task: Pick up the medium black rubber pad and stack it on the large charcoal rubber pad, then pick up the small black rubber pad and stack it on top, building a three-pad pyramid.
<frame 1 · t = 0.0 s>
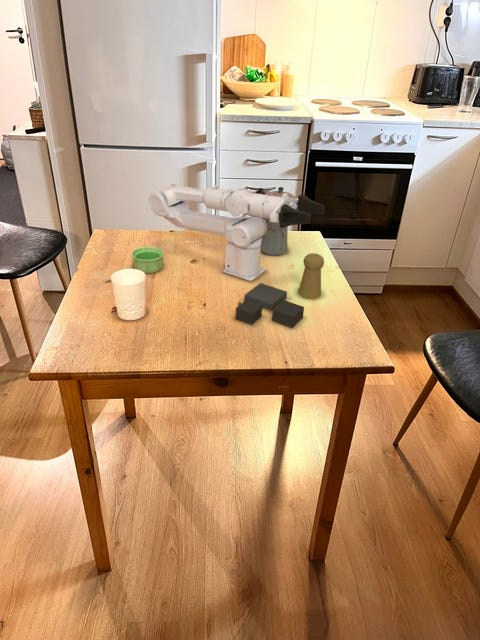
hand: (317, 214, 121), 22 cm above the table, tool horizontal, fingers open, 7 cm apart
white cup: (131, 313, 120), on the table
top pad: (248, 317, 120), on the table
ramekin: (148, 267, 141), on the table
middle pad: (287, 319, 121), on the table
base pad: (265, 299, 128), on the table
olive game pawn: (309, 293, 132), on the table
moka pot: (271, 250, 155), on the table
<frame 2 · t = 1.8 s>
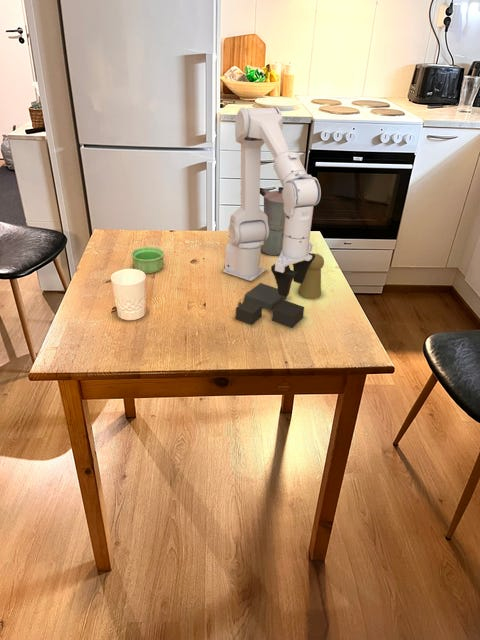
hand: (290, 288, 116), 9 cm above the table, tool pointing down, fingers open, 7 cm apart
nothing on the table moved.
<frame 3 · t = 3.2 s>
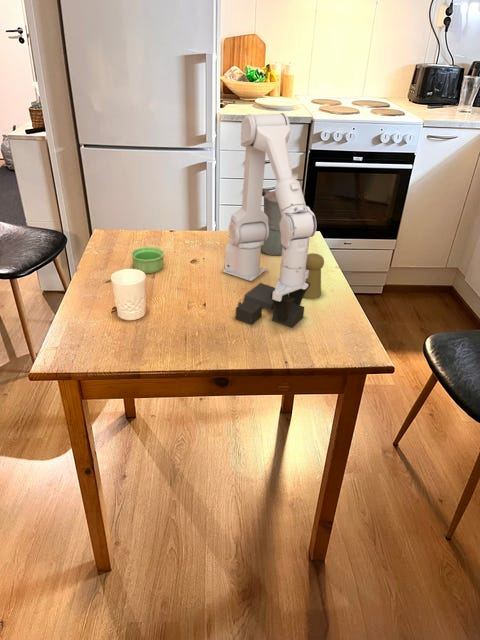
hand: (287, 314, 120), 1 cm above the table, tool pointing down, fingers closed on middle pad, 5 cm apart
middle pad: (287, 319, 121), on the table, touching gripper
everything else where it was.
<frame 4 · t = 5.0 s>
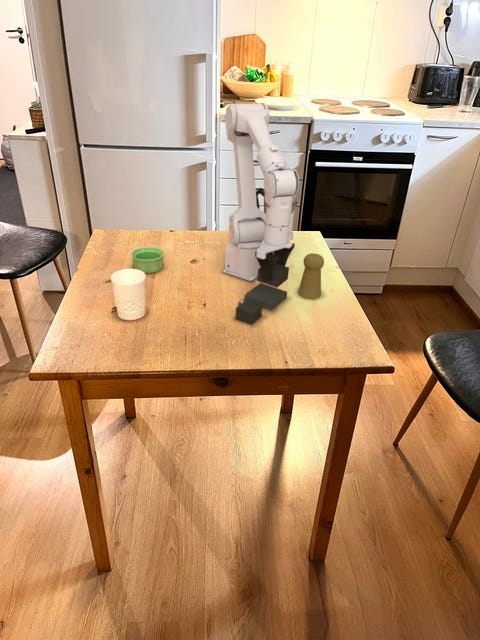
hand: (272, 275, 122), 8 cm above the table, tool pointing down, fingers closed on middle pad, 5 cm apart
middle pad: (272, 280, 123), point 7 cm above the table, touching gripper
everything else where it was.
when the fingers open (3 cm above the table, at t = 7.0 s): middle pad stays where it is, resting on base pad.
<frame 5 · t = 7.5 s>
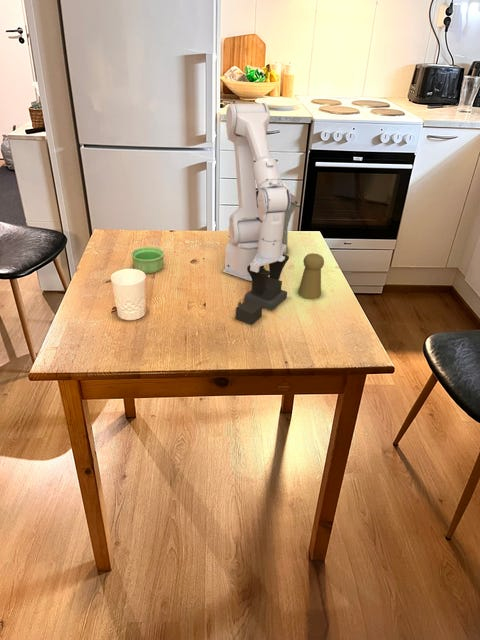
hand: (266, 286, 126), 4 cm above the table, tool pointing down, fingers open, 7 cm apart
middle pad: (266, 293, 127), point 2 cm above the table, touching base pad
base pad: (265, 299, 128), on the table, touching middle pad
everything else where it was.
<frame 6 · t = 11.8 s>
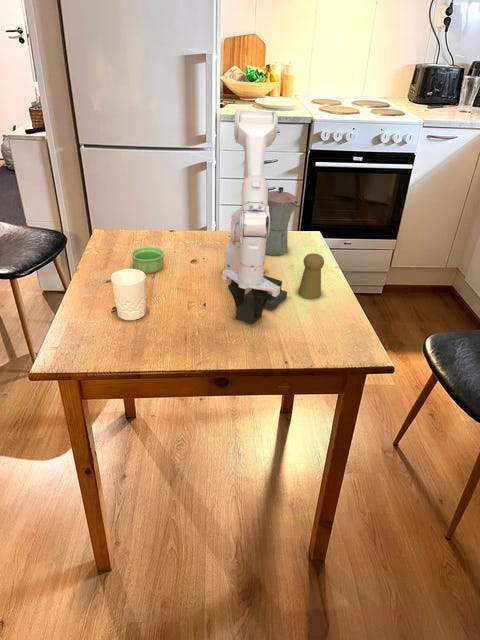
hand: (248, 312, 120), 1 cm above the table, tool pointing down, fingers closed on top pad, 4 cm apart
top pad: (248, 317, 120), on the table, touching gripper
everything else where it was.
when the fingers open (7 cm above the table, at t = 15.3 s): top pad stays where it is, resting on middle pad.
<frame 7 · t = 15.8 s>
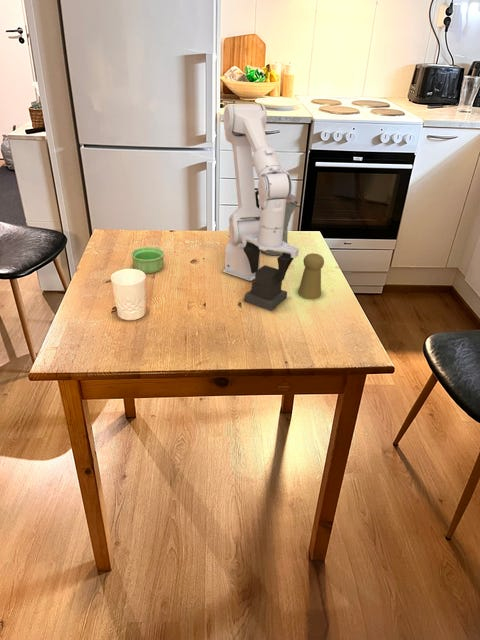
hand: (267, 276, 124), 7 cm above the table, tool pointing down, fingers open, 7 cm apart
top pad: (267, 282, 125), point 5 cm above the table, touching middle pad
middle pad: (266, 293, 127), point 2 cm above the table, touching base pad, top pad
everything else where it was.
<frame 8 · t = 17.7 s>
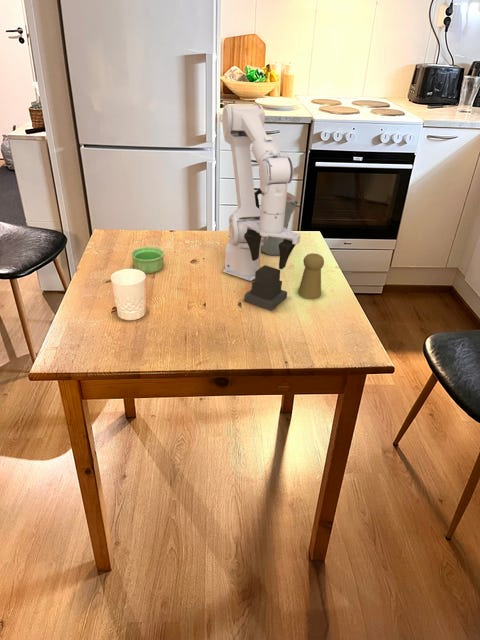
hand: (268, 263, 123), 10 cm above the table, tool pointing down, fingers open, 7 cm apart
nothing on the table moved.
at the end: middle pad 0.0 cm off-centre on the base pad, point 2.0 cm above the base pad's base; top pad 0.0 cm off-centre on the middle pad, point 3.2 cm above the middle pad's base; top pad tilted 0° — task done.
